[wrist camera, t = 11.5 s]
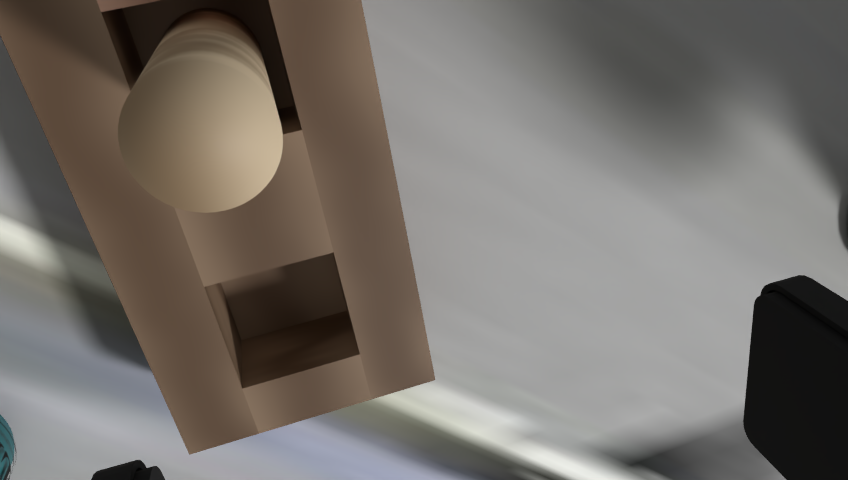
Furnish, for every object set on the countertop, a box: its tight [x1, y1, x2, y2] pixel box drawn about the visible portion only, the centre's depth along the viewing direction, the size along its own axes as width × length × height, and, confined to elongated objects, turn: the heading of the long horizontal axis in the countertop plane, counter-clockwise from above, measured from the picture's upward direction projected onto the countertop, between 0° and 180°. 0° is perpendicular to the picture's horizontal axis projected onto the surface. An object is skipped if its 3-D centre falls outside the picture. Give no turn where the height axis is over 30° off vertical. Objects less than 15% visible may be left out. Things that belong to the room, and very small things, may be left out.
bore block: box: [0, 0, 435, 455], centre depth 28 cm, size 12×22×5 cm, turn 9°
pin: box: [118, 8, 283, 213], centre depth 22 cm, size 4×4×12 cm
